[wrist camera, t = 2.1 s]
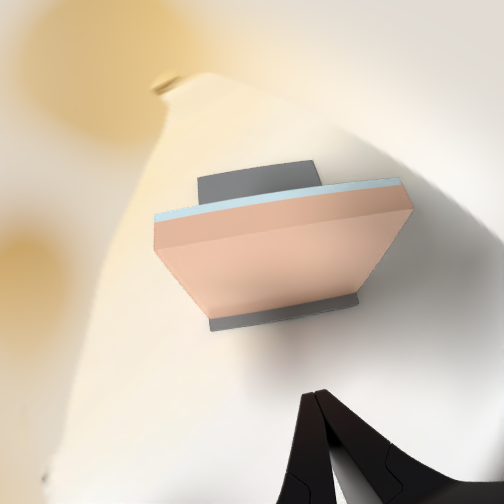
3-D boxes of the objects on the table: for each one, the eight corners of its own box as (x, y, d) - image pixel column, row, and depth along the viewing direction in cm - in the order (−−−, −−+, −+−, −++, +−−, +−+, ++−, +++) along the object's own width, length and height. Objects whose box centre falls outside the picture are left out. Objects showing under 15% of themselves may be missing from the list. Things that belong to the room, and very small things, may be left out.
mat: (357, 305, 19) (358, 303, 19) (211, 331, 19) (210, 330, 19) (311, 163, 25) (311, 160, 25) (198, 180, 25) (197, 177, 25)
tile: (356, 292, 19) (414, 208, 10) (209, 319, 19) (153, 250, 10) (350, 271, 20) (398, 177, 11) (206, 296, 20) (154, 214, 11)
